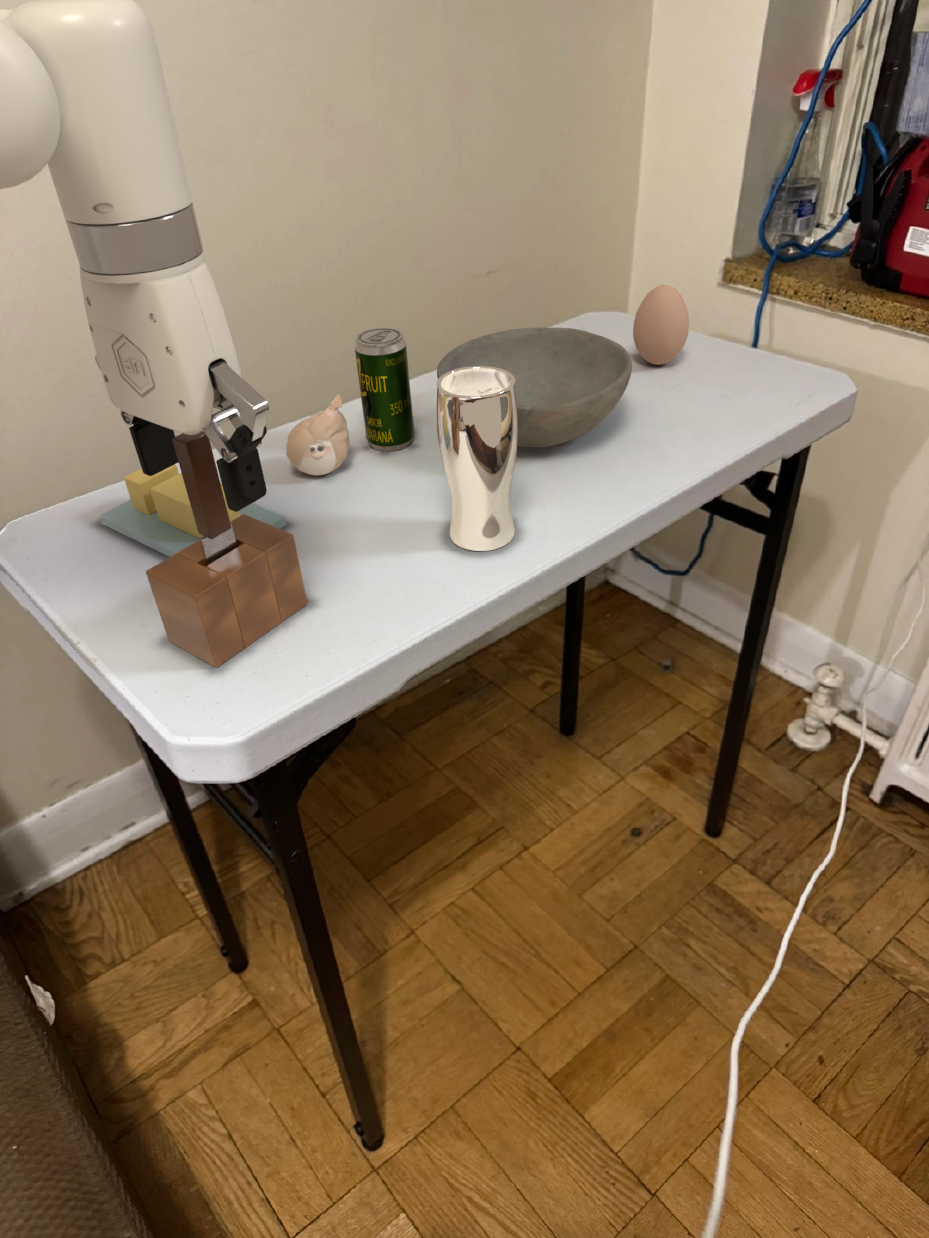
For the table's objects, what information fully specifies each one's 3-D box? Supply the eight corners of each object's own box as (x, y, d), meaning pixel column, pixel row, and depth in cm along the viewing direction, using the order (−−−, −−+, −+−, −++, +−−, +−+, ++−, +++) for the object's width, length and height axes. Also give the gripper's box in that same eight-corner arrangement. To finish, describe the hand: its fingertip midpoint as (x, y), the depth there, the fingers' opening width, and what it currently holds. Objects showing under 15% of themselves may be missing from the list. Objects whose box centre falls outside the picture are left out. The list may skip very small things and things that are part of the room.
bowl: (667, 444, 93) (674, 373, 88) (495, 493, 87) (492, 419, 82) (566, 378, 109) (568, 314, 104) (413, 415, 102) (407, 349, 97)
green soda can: (383, 427, 100) (371, 324, 93) (423, 435, 98) (414, 330, 91) (358, 447, 96) (343, 342, 89) (399, 456, 94) (387, 348, 87)
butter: (205, 541, 80) (196, 509, 78) (159, 520, 84) (149, 488, 82) (242, 520, 83) (234, 488, 81) (195, 500, 87) (187, 469, 85)
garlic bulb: (340, 486, 89) (329, 414, 85) (282, 483, 91) (268, 412, 86) (359, 457, 95) (350, 387, 90) (304, 454, 96) (292, 385, 91)
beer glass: (431, 544, 80) (418, 390, 71) (466, 508, 85) (458, 360, 76) (499, 561, 77) (494, 404, 68) (531, 523, 82) (531, 371, 73)
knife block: (216, 668, 68) (194, 596, 63) (168, 641, 71) (144, 571, 66) (307, 604, 74) (293, 534, 69) (259, 581, 77) (243, 513, 72)
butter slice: (148, 515, 85) (138, 484, 83) (133, 508, 86) (123, 477, 84) (185, 496, 88) (176, 465, 85) (170, 489, 89) (161, 458, 87)
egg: (683, 375, 108) (692, 295, 102) (628, 372, 109) (634, 294, 103) (685, 354, 113) (694, 277, 107) (633, 352, 114) (638, 276, 108)
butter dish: (205, 574, 78) (203, 565, 77) (101, 524, 86) (98, 515, 85) (286, 525, 84) (284, 516, 83) (182, 482, 92) (179, 473, 91)
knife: (232, 635, 71) (179, 446, 60) (219, 628, 72) (165, 441, 61) (259, 616, 73) (213, 430, 62) (246, 610, 73) (199, 425, 63)
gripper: (8, 240, 56) (93, 476, 66) (177, 278, 47) (244, 542, 58) (107, 213, 60) (172, 438, 71) (278, 243, 52) (323, 494, 62)
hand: (204, 484), depth 64 cm, fingers open, 9 cm apart
